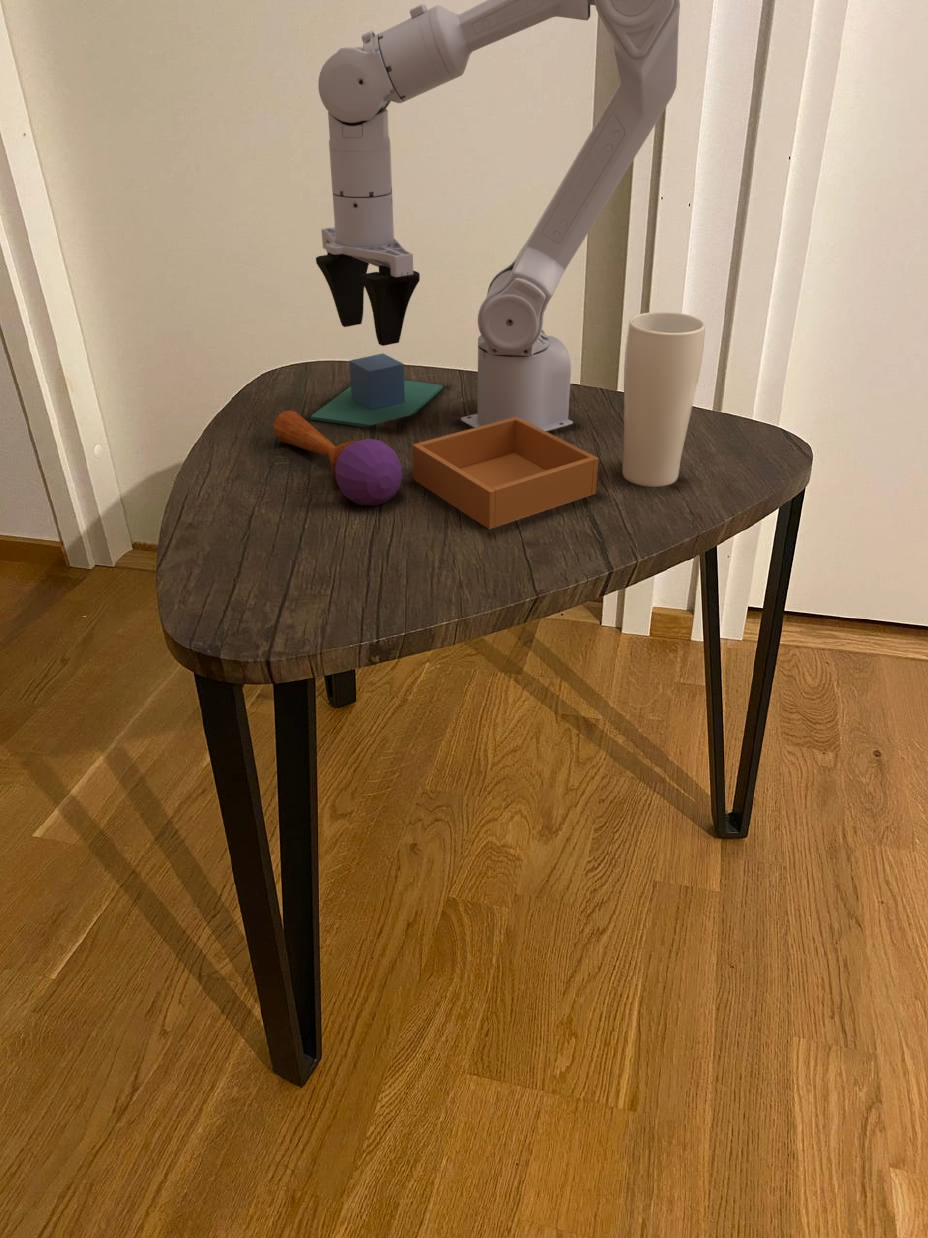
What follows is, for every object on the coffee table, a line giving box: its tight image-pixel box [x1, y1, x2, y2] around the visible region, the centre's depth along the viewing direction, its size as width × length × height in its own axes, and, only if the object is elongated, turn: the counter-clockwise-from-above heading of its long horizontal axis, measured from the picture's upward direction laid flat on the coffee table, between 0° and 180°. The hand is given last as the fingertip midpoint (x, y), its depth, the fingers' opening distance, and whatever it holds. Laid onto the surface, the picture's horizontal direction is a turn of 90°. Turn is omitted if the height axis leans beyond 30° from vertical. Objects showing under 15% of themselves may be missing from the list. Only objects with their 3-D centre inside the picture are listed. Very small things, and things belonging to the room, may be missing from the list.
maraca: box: [272, 410, 404, 507], centre depth 93 cm, size 6×6×20 cm
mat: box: [310, 379, 444, 428], centre depth 110 cm, size 14×10×1 cm
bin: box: [412, 417, 599, 530], centre depth 91 cm, size 12×12×4 cm
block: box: [349, 353, 405, 410], centre depth 109 cm, size 4×4×4 cm
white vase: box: [621, 311, 706, 488], centre depth 90 cm, size 7×7×15 cm
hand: (369, 333), depth 101 cm, fingers open, 7 cm apart
